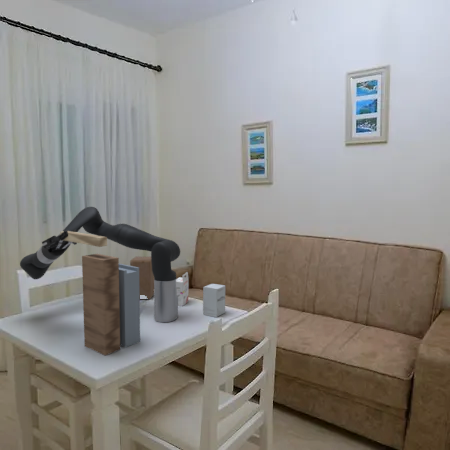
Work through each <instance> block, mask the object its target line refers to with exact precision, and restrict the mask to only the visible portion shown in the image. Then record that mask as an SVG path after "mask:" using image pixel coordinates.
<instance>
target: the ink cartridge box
mask: <svg viewBox="0 0 450 450" xmlns="http://www.w3.org/2000/svg"><path fill="white" fill-rule="evenodd" d="M181 276H182V277H181ZM181 276H180V277H177V278H176V295H177V296H178V307H179V306H180V307H181V306H182V307H184V306H185V305H186V304H187V303H188V302H189V272H188V271H186V272H185V273H184V274H182V275H181Z"/></svg>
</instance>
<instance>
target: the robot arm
mask: <svg viewBox="0 0 450 450" xmlns="http://www.w3.org/2000/svg"><path fill="white" fill-rule="evenodd" d="M82 228H83V230H84V231H85V232H86V233H87V234H91V235H97V236H104V237H107V240H110V241H112V242H115V243H117V244H118V245H121V246H123V247H126V248H129V249H133V250H139V251H147V252H151V253H150V255H151V256H150V257H151V262H152V272H153V275H154V294H153V300H154V301H153V304H154V307H153V309H154V313H153V315H154V316H153V317H154V319H153V320H154V321H156V322H158V323H169V322H174V321H175V320H177V318H179V306H178V296H177V295H176V279H177V272H176V271H175V270H172V262H174V261H176V260H177V259H178V258H179V257H180V256H181V248H180V246H179V244H178V243H177V242H176V241H174V240H173V239H172V240H171V239H167V238H163V237H160V236H156V235H153V234H152V233H150V232H146V231H144V230H142V229H140V228H137V227H135V226H133V225H129V224H128V223H118V224H110V223H107V222H106V221H104V220H103V218H102V216H101V213H100V212H99V210H98V209H97V207H95V206H88V207H87V206H86V207H85V208H83V209H82V210H80V211H79V212H78V213H77V214H76V216H74V218H73V219H72V220H71V221H70V222H69V223H68V225H66V227H65V228H63V230H62V231H64V232H63V233H61V234H60V233H59V234H58V235H53V236H50V237H49V238H47V239H45V240H43V241H41V244H42V245H41V246H40V247H39V249H38V250H37V251H36V252H34V253H30V254H27V255H26V256H24V257H23V258H22V259H21V260H20V261H19V265H20V268H21V269H22V270H23V271H24V272H25V273H26V274H27V275H28V276H29V277H30V278H31V279H33V280H39V279H41V278H42V277H44V276H45V274H46V273H47V272H48V270H49V268H50V267H51V265H52V264H53V263H54V262H55V261H56V260H57V259H59V258H60V257H61V256H62V255H64V253H65V252H66V251H67V250H68V249H69V248H70V246H71V244H73V245H74V246H75V245H77V244H78V243H76V242H70V241H65V240H64V239H65V238H67V237H68V232H67V231H71V232H78V233H79V231H80V230H81V229H82Z"/></svg>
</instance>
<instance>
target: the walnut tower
mask: <svg viewBox="0 0 450 450" xmlns="http://www.w3.org/2000/svg"><path fill="white" fill-rule="evenodd" d="M119 259H120V258H119V257H116V256H111V255H106V254H101V253H93V254H92V253H91V254H86V255H82V256H81V264H82V265H81V267H82V269H81V272H82V273H81V274H82V299H83V300H82V304H83V306H82V307H83V336H84V337H83V338H84V339H83V340H84V341H83V343H84V347H86V348H88V349H90V350H93V351H94V352H97V353H99V354H101V355H103V356H108V355H110V354H112V353H116V352H118V351H120V350H121V345H120V309H119V264H120V261H119Z"/></svg>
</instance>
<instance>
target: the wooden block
mask: <svg viewBox="0 0 450 450" xmlns="http://www.w3.org/2000/svg"><path fill="white" fill-rule="evenodd" d="M129 263H130V264H129V266H134V267H139V294H140V295H145V296H147V298H148V301H149V300H151V299H152V297H154V275H153V272H152V262H151V256H134V257H133V258H131V260H130V261H129Z"/></svg>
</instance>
